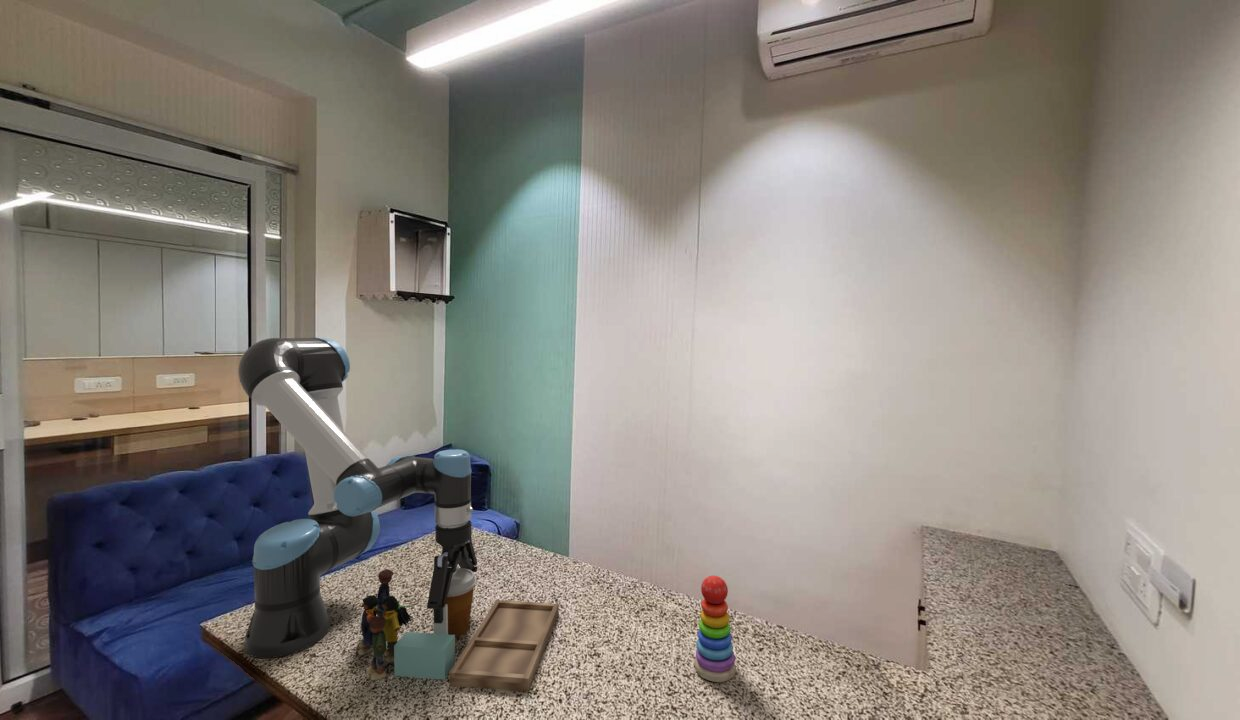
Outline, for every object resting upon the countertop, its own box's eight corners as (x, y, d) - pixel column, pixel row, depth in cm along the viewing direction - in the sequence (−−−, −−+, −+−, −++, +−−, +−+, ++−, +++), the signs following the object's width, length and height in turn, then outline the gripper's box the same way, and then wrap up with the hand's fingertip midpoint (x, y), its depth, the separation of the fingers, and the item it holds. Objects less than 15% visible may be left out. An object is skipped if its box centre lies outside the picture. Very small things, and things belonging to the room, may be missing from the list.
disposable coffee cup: (447, 649, 103) (447, 592, 102) (421, 632, 108) (421, 578, 108) (485, 628, 110) (485, 575, 110) (459, 613, 116) (459, 563, 116)
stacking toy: (706, 652, 103) (708, 563, 102) (742, 668, 98) (744, 575, 97) (686, 671, 97) (688, 577, 96) (723, 690, 92) (725, 591, 91)
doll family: (344, 631, 109) (343, 571, 108) (387, 616, 115) (387, 559, 114) (374, 688, 91) (373, 617, 91) (424, 667, 97) (423, 600, 97)
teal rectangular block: (394, 676, 95) (394, 645, 94) (406, 660, 99) (406, 631, 99) (444, 680, 94) (444, 649, 94) (455, 664, 98) (454, 635, 98)
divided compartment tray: (449, 685, 92) (449, 672, 92) (496, 610, 118) (496, 600, 117) (528, 691, 91) (528, 678, 91) (558, 614, 116) (558, 603, 116)
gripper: (444, 546, 96) (446, 654, 96) (490, 503, 120) (491, 589, 121) (407, 545, 96) (409, 651, 97) (460, 502, 121) (461, 588, 122)
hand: (454, 617), depth 109 cm, fingers open, 13 cm apart
